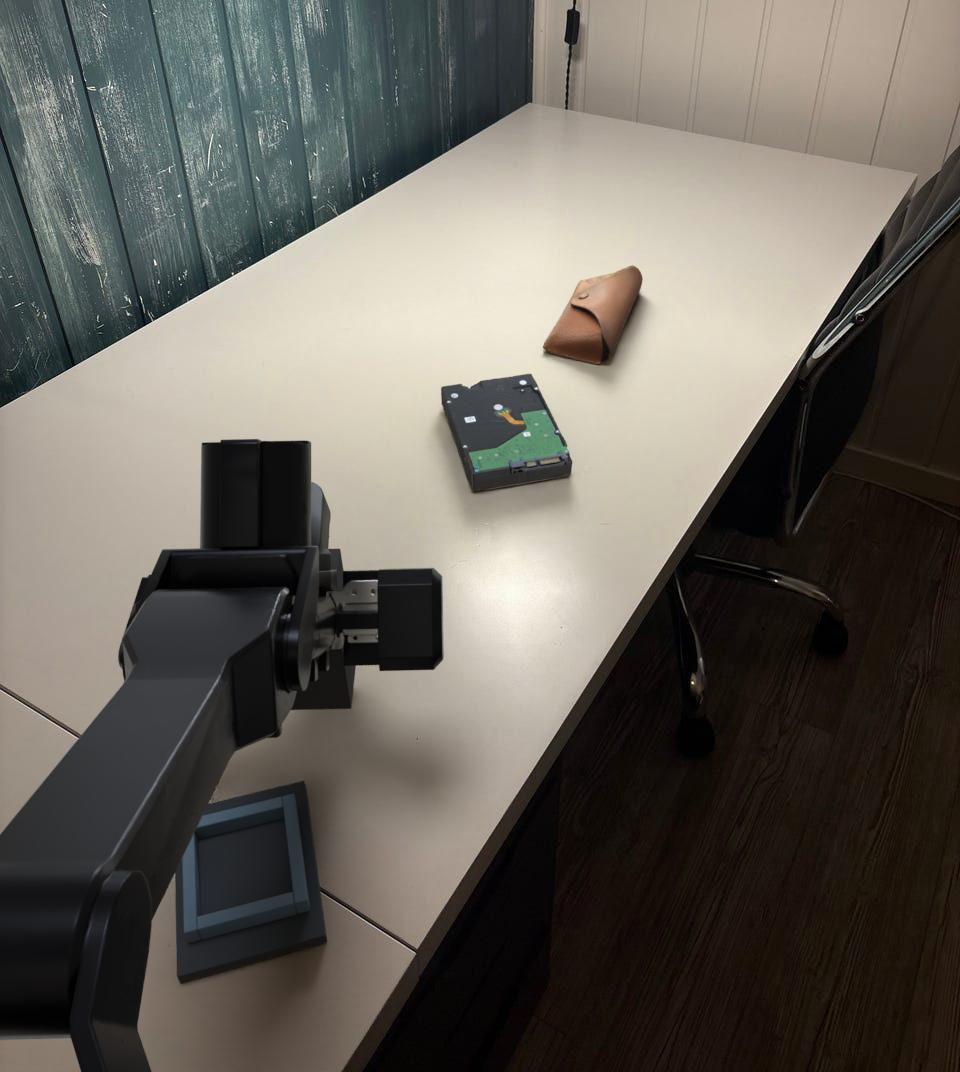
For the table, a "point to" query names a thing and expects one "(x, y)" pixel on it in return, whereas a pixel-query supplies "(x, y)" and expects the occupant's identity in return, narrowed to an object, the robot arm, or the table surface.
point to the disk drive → (505, 432)
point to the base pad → (248, 884)
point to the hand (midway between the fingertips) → (315, 611)
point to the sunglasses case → (595, 317)
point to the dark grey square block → (330, 669)
